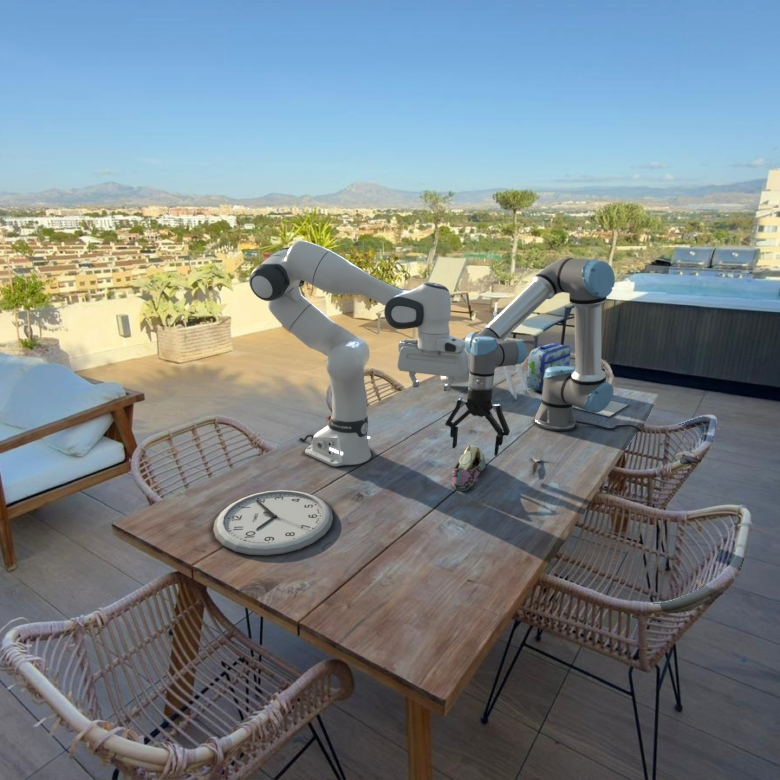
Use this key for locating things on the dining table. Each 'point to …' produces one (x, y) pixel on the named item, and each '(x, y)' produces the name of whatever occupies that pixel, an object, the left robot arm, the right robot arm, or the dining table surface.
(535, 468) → the fork
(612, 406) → the invitation card
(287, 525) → the wall clock
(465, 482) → the shoe
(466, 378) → the white plastic object
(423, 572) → the dining table surface
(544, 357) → the lunch box
